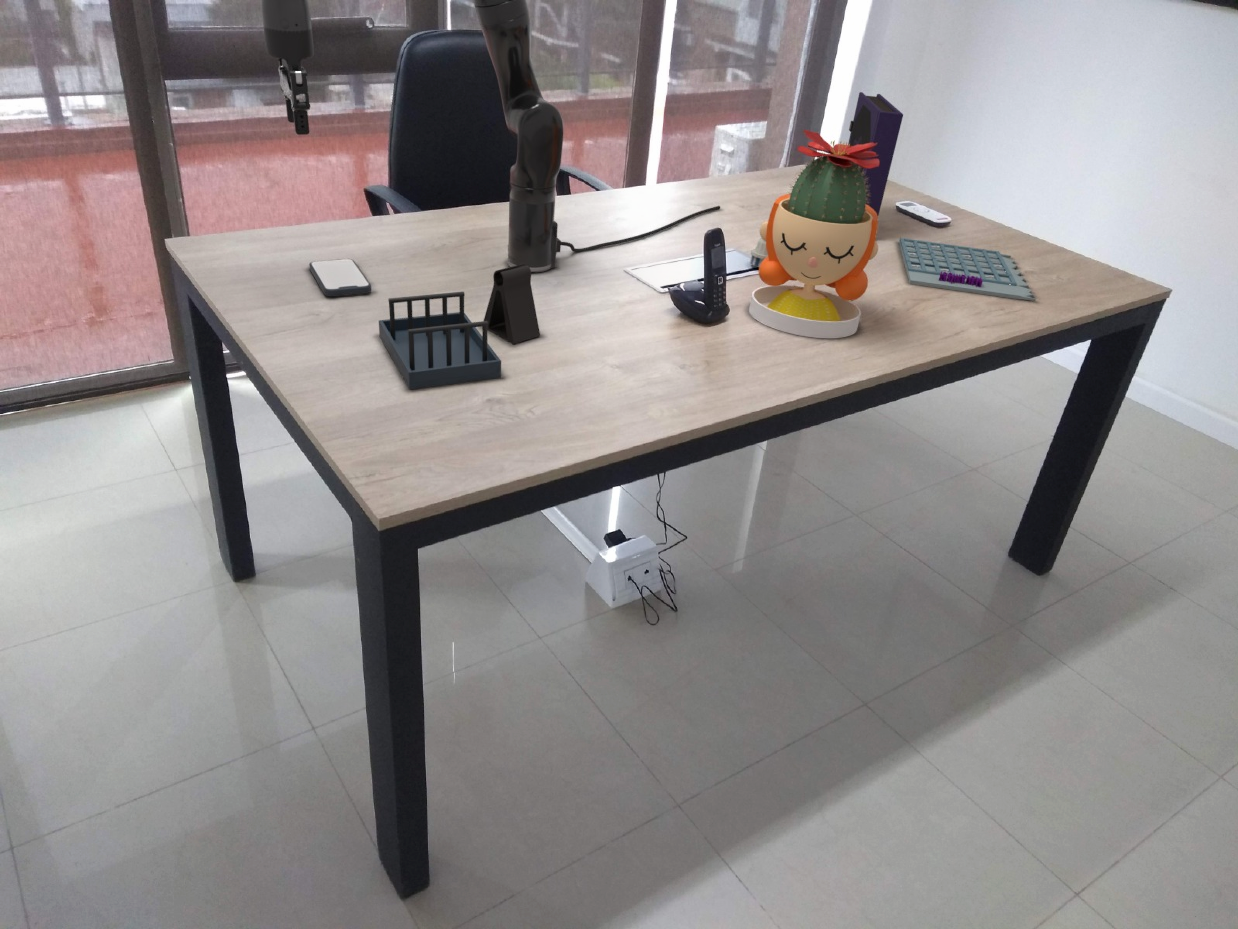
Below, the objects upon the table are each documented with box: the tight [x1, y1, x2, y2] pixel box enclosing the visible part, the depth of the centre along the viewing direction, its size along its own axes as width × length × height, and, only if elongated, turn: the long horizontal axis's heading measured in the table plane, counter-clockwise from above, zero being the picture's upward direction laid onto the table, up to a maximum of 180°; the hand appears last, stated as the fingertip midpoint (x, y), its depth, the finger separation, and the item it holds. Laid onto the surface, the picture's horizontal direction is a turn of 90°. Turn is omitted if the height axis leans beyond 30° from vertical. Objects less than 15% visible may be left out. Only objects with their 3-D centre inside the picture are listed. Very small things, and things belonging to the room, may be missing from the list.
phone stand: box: [483, 264, 541, 345], centre depth 160 cm, size 9×6×12 cm, turn 44°
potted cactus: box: [748, 129, 879, 339], centre depth 172 cm, size 22×22×35 cm
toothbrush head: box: [749, 237, 768, 268], centre depth 207 cm, size 5×7×25 cm
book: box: [847, 91, 904, 217], centre depth 227 cm, size 24×6×30 cm, turn 179°
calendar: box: [898, 237, 1036, 302], centre depth 212 cm, size 27×29×2 cm
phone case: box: [308, 258, 372, 297], centre depth 175 cm, size 9×2×16 cm
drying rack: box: [378, 291, 502, 390], centre depth 150 cm, size 15×20×8 cm
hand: (298, 127), depth 157 cm, fingers open, 8 cm apart
